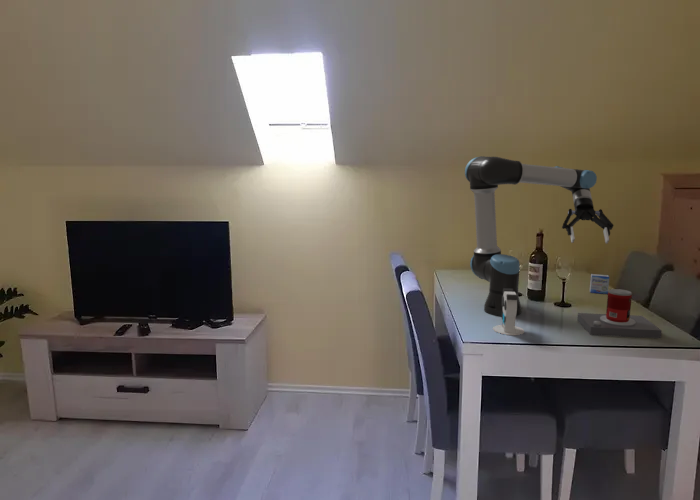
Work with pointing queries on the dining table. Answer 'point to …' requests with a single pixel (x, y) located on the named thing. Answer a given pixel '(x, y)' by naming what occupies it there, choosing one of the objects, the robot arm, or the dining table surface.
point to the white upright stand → (509, 314)
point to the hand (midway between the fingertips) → (590, 241)
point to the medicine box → (599, 284)
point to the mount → (618, 326)
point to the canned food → (618, 305)
